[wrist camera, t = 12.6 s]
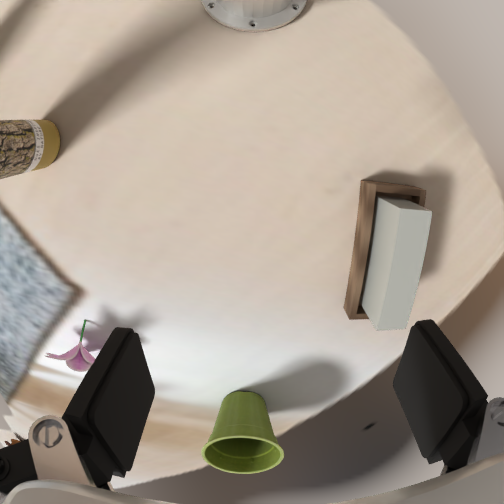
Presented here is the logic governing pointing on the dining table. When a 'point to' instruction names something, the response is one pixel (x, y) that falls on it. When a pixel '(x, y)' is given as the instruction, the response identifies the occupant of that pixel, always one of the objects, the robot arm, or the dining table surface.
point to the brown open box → (363, 236)
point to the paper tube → (27, 146)
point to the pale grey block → (394, 261)
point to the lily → (76, 356)
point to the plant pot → (243, 436)
